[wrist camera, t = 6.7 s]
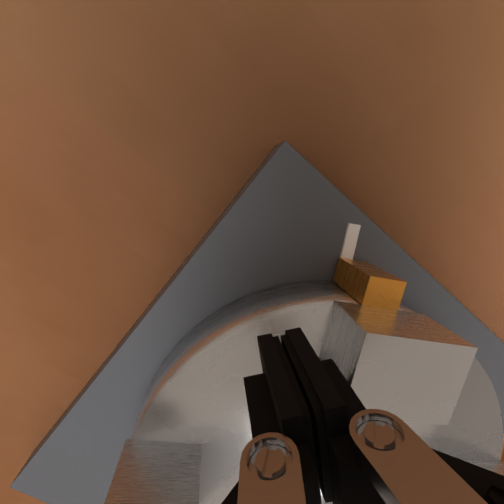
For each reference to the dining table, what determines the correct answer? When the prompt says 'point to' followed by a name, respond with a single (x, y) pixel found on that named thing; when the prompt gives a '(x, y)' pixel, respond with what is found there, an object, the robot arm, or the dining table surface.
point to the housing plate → (224, 293)
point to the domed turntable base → (326, 347)
